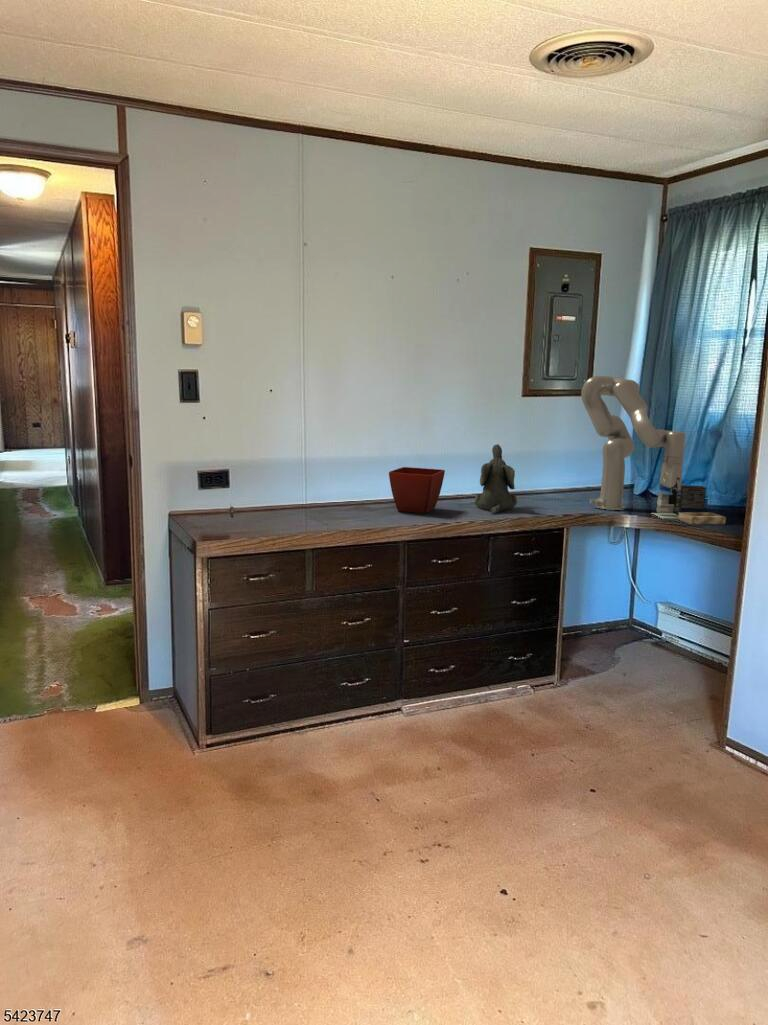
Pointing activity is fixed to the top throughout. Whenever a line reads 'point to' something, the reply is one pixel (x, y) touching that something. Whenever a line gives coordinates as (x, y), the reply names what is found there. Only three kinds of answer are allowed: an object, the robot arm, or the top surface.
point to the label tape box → (664, 499)
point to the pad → (666, 515)
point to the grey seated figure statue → (496, 484)
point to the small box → (692, 497)
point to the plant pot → (416, 488)
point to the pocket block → (701, 518)
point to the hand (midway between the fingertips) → (668, 502)
